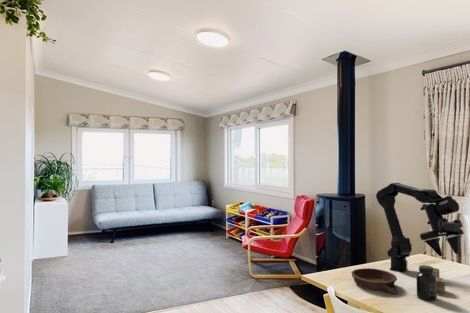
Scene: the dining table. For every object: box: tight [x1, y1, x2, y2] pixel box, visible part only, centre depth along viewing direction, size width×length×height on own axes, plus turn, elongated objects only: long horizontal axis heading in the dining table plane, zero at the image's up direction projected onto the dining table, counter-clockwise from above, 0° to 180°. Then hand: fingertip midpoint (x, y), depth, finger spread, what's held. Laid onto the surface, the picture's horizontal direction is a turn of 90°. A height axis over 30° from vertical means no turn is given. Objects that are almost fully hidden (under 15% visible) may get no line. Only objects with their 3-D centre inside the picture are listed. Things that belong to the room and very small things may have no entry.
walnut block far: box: [433, 267, 440, 278], centre depth 153 cm, size 5×5×5 cm
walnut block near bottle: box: [436, 277, 446, 295], centre depth 140 cm, size 5×5×5 cm
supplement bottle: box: [415, 264, 438, 302], centre depth 133 cm, size 7×7×12 cm
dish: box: [351, 267, 398, 293], centre depth 147 cm, size 17×22×5 cm
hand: (449, 255), depth 143 cm, fingers open, 9 cm apart
